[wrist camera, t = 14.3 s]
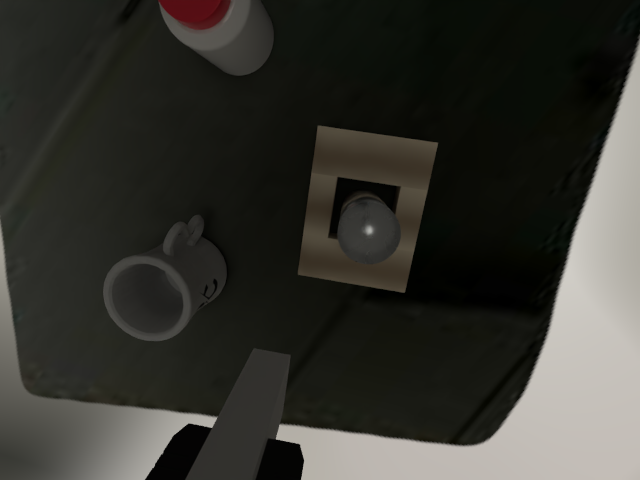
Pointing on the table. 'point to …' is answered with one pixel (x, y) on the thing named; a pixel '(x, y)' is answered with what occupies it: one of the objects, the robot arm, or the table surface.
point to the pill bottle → (223, 31)
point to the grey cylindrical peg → (367, 228)
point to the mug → (165, 283)
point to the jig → (374, 166)
